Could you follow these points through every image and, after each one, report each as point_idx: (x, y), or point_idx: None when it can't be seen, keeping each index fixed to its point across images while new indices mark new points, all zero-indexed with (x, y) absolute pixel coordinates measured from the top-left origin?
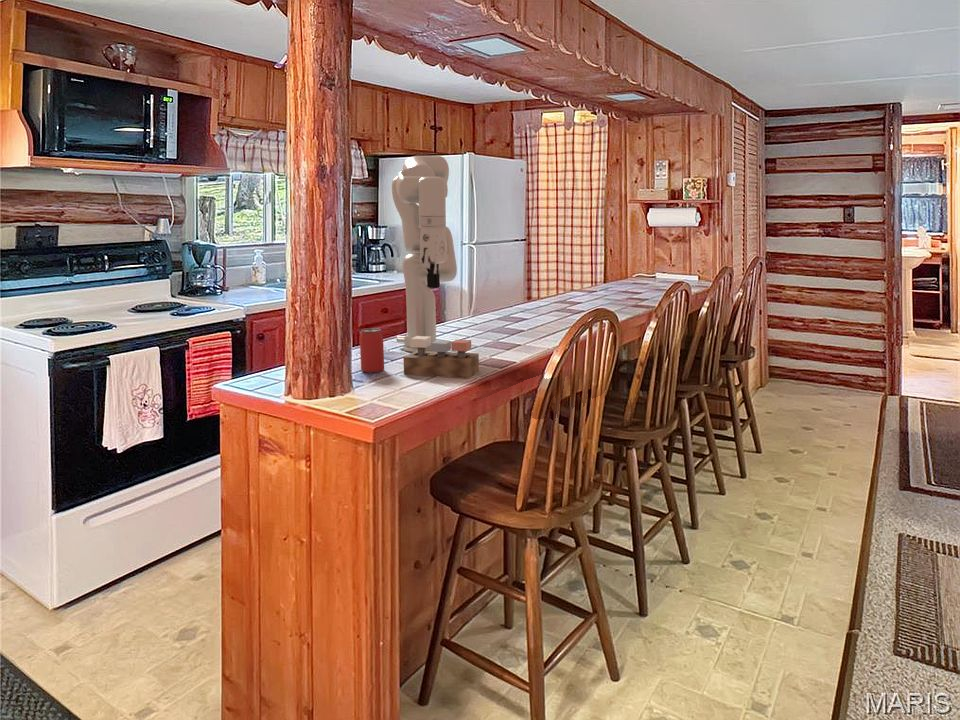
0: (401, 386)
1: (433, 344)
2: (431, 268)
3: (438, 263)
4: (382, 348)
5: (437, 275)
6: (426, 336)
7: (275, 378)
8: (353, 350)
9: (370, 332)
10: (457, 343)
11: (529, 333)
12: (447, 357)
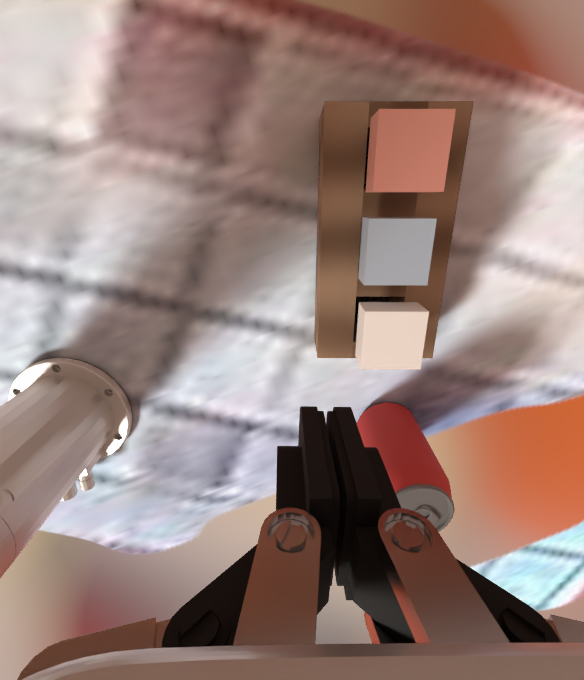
0: (555, 291)
1: (426, 274)
2: (537, 615)
3: (549, 643)
4: (404, 439)
5: (376, 485)
6: (364, 330)
7: (483, 564)
8: (168, 547)
9: (452, 502)
10: (446, 160)
11: None
12: (420, 209)
